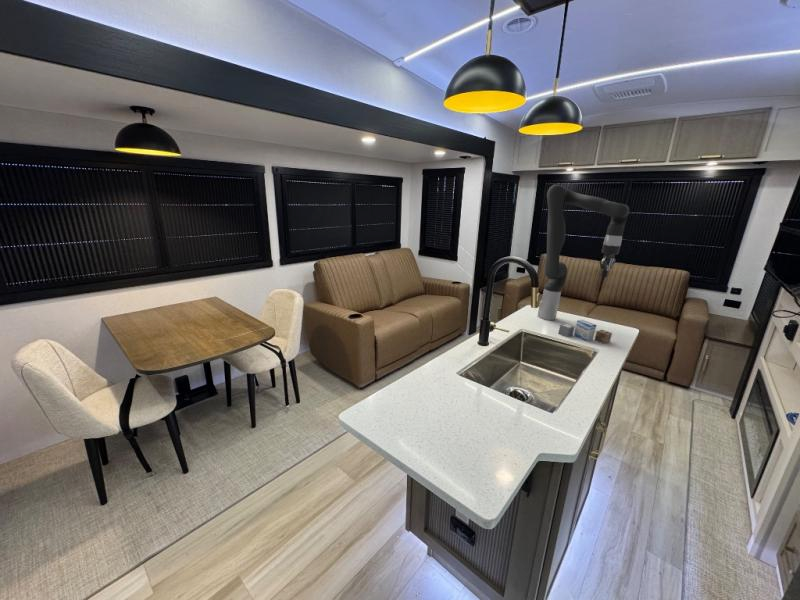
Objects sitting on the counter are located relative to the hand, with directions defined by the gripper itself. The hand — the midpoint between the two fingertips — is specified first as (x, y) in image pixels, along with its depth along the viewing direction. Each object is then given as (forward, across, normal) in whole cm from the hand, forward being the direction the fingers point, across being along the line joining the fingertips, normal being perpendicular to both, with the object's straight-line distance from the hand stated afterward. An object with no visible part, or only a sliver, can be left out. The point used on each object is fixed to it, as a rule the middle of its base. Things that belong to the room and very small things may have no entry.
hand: (604, 277), depth 169 cm
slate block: (+29, +23, -2) cm, 37 cm away
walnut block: (+29, +14, +12) cm, 34 cm away
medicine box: (+29, +19, +5) cm, 35 cm away
